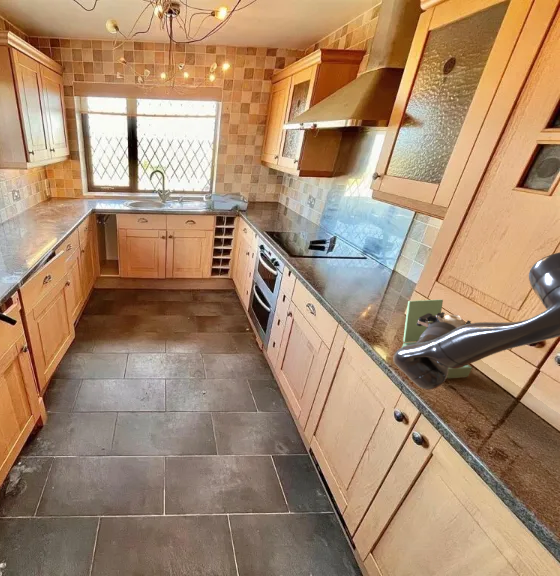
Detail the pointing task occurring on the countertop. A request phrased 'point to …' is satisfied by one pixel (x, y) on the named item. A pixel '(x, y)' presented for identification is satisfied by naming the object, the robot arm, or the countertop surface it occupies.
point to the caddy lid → (413, 314)
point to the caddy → (452, 372)
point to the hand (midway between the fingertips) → (454, 319)
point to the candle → (453, 320)
